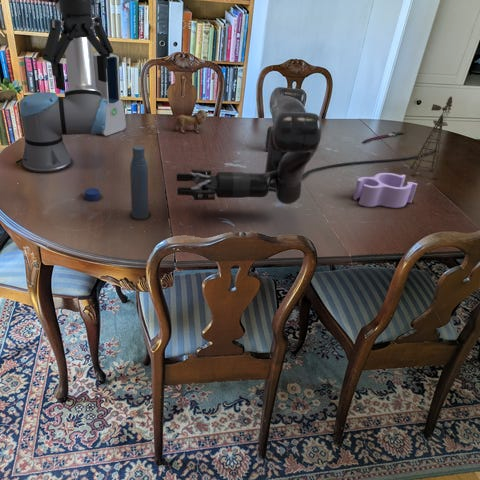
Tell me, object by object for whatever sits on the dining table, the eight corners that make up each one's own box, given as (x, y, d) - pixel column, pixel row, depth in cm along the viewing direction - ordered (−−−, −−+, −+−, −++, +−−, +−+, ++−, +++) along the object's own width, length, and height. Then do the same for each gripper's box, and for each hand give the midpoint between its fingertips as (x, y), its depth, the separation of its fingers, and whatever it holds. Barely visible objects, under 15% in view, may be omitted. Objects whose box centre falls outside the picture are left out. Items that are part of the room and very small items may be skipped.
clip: (365, 210, 152) (371, 191, 148) (346, 193, 162) (351, 174, 158) (416, 205, 158) (422, 187, 155) (395, 189, 168) (400, 171, 164)
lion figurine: (203, 128, 203) (204, 107, 198) (207, 132, 199) (208, 111, 194) (170, 129, 198) (170, 108, 193) (173, 133, 194) (173, 112, 189)
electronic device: (104, 136, 184) (98, 57, 168) (90, 131, 187) (84, 53, 171) (126, 129, 193) (123, 53, 177) (113, 124, 196) (109, 49, 180)
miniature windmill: (435, 179, 179) (462, 101, 163) (413, 175, 180) (438, 97, 164) (432, 170, 187) (457, 94, 170) (410, 166, 188) (434, 91, 171)
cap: (96, 193, 146) (95, 187, 144) (102, 198, 143) (101, 192, 142) (83, 196, 143) (82, 190, 142) (89, 202, 141) (88, 195, 139)
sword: (401, 131, 224) (402, 128, 223) (406, 133, 222) (407, 131, 221) (358, 142, 208) (358, 140, 207) (363, 145, 206) (363, 142, 205)
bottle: (141, 221, 134) (139, 152, 123) (128, 215, 136) (125, 147, 125) (152, 214, 138) (151, 147, 126) (139, 209, 140) (137, 142, 128)
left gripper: (38, 0, 103) (50, 96, 114) (124, -3, 120) (127, 80, 132) (18, -5, 106) (32, 89, 117) (104, -7, 124) (109, 75, 135)
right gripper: (230, 162, 140) (176, 161, 137) (237, 184, 128) (177, 183, 126) (229, 184, 144) (176, 184, 141) (234, 208, 132) (177, 207, 130)
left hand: (82, 85), depth 125 cm, fingers open, 13 cm apart
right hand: (177, 184), depth 134 cm, fingers open, 8 cm apart
